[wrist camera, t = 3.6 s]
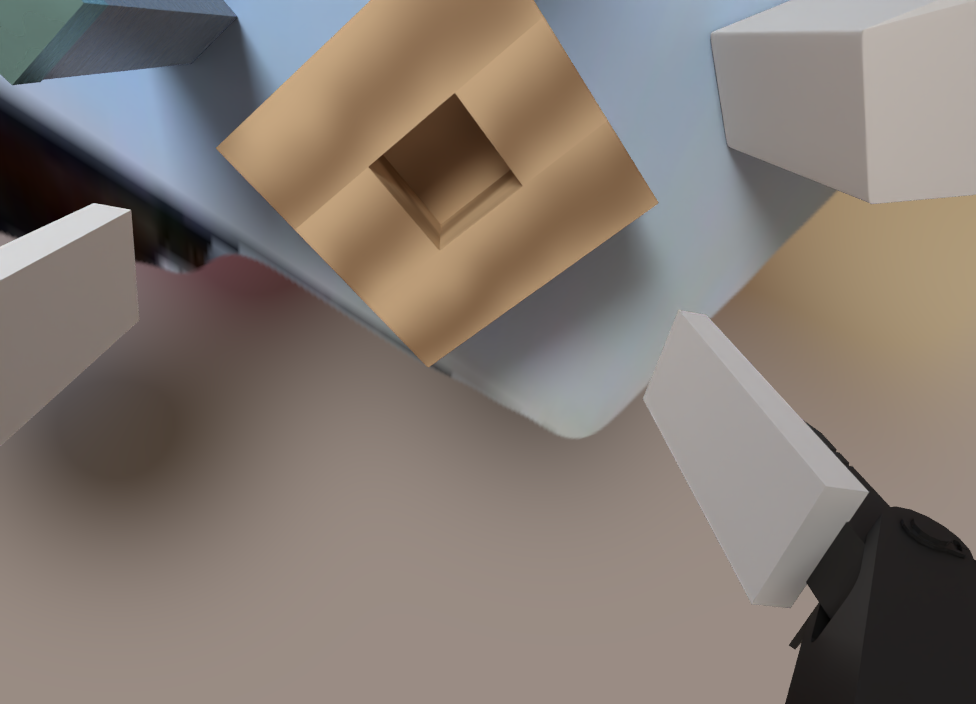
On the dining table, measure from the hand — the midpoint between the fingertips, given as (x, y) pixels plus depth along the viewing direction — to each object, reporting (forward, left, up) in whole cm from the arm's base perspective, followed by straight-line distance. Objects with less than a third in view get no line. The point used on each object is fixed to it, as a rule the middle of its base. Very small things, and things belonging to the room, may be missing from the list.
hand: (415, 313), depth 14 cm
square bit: (-14, -7, -26) cm, 31 cm away
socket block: (+1, 0, -26) cm, 26 cm away
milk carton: (+10, +19, -26) cm, 34 cm away
